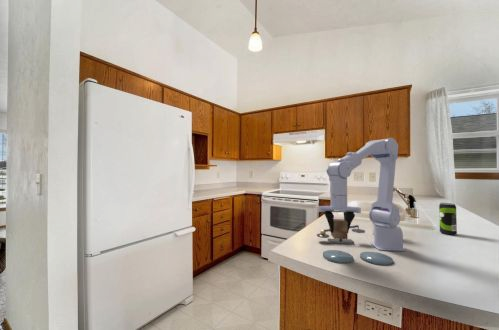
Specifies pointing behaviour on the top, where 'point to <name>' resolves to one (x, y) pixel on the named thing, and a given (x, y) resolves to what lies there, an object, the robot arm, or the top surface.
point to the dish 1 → (337, 256)
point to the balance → (340, 241)
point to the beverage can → (448, 218)
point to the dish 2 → (376, 258)
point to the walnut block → (339, 229)
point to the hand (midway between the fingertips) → (338, 232)
